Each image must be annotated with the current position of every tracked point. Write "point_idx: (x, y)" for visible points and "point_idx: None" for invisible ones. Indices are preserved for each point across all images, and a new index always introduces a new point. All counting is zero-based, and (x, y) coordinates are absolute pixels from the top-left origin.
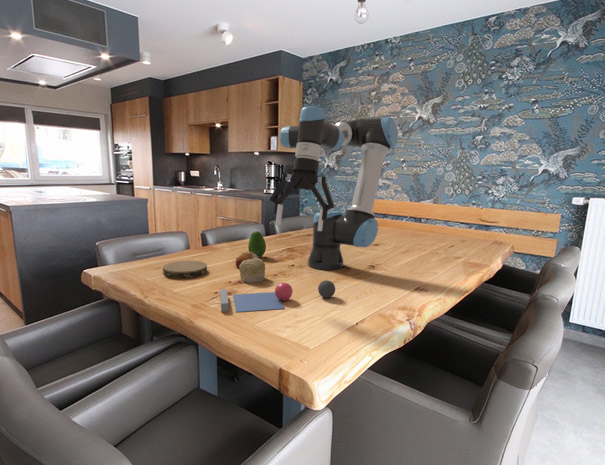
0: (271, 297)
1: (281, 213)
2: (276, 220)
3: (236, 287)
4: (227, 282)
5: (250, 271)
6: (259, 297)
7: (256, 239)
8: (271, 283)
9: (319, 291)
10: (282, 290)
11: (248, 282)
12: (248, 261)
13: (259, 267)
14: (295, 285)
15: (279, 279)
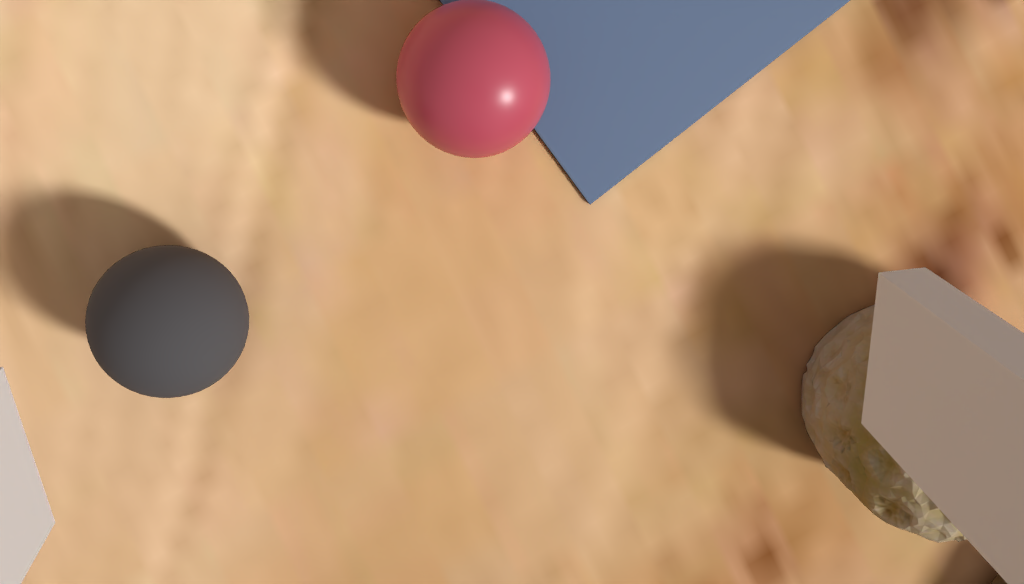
0: (569, 74)
1: (1015, 552)
2: (969, 310)
3: (911, 159)
4: (1019, 225)
5: None
6: (652, 27)
7: None
8: (711, 374)
9: (214, 259)
10: (456, 8)
11: None
12: None
13: None
14: (523, 427)
15: (695, 488)
